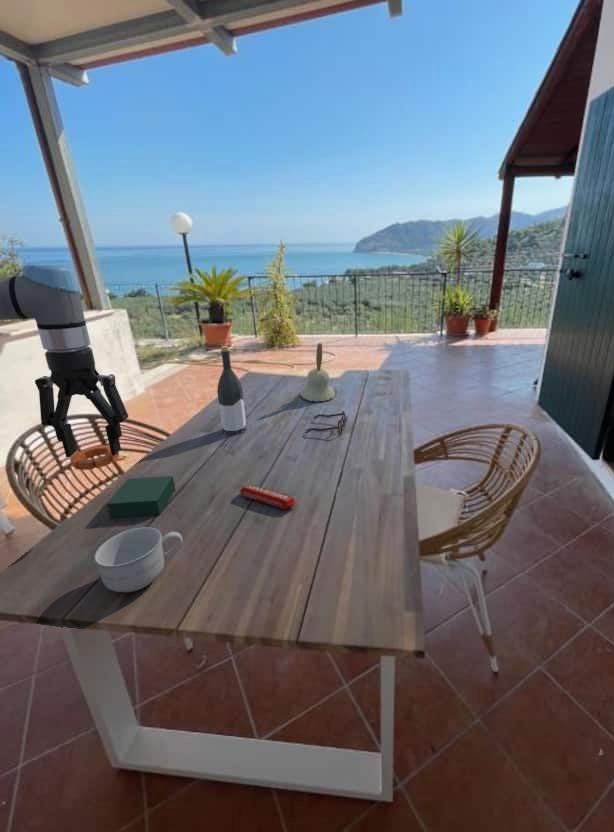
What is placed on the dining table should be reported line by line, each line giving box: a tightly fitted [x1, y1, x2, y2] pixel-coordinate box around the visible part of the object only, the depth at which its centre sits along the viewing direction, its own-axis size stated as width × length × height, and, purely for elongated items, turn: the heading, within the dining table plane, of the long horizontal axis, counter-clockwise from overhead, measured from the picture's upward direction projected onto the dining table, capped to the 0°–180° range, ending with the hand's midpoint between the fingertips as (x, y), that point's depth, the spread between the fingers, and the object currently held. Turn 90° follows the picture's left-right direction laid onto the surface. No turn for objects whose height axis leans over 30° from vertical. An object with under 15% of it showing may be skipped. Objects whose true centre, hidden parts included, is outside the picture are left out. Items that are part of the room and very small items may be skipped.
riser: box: [106, 475, 176, 519], centre depth 95 cm, size 11×11×4 cm
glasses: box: [304, 410, 347, 435], centre depth 137 cm, size 13×13×5 cm
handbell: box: [299, 342, 336, 402], centre depth 164 cm, size 15×15×25 cm
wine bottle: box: [216, 345, 247, 435], centre depth 132 cm, size 8×8×30 cm
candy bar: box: [238, 484, 298, 510], centre depth 96 cm, size 16×4×3 cm, turn 64°
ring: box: [69, 444, 120, 471], centre depth 83 cm, size 8×8×2 cm
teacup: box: [94, 526, 184, 593], centre depth 72 cm, size 14×11×8 cm
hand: (94, 452), depth 83 cm, fingers closed on ring, 8 cm apart
